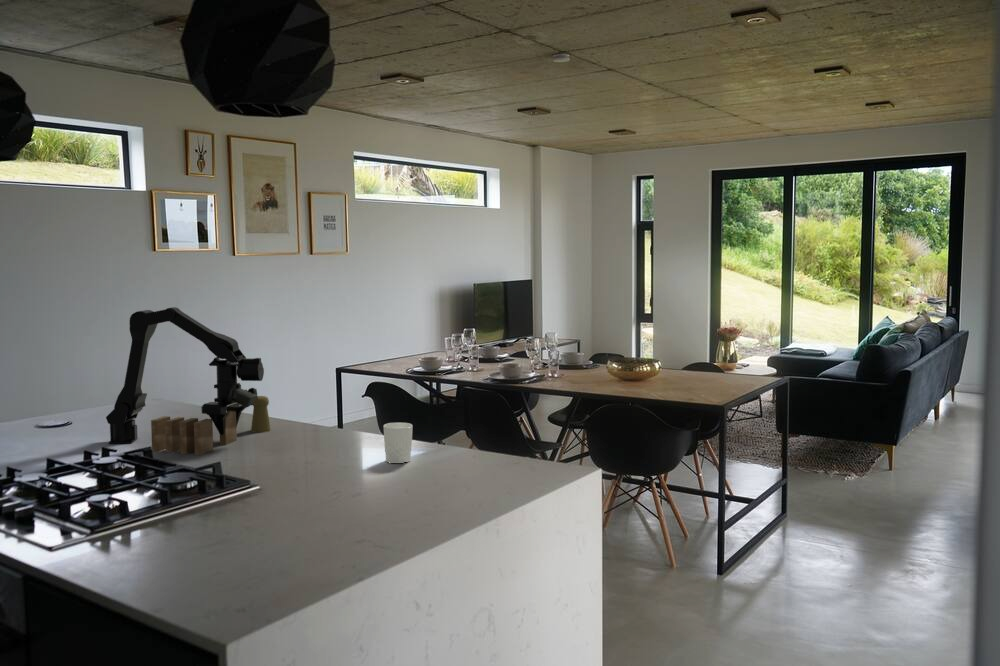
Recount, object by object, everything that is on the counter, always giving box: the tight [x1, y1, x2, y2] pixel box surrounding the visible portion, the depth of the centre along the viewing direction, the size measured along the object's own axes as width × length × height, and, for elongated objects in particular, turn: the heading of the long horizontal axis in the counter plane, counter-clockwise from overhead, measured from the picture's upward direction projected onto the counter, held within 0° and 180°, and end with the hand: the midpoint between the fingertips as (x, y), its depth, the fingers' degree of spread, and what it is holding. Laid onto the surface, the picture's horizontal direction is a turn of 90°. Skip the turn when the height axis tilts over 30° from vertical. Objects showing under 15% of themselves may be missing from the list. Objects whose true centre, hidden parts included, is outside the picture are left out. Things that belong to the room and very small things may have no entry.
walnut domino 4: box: [194, 418, 214, 456], centre depth 226 cm, size 2×6×9 cm, turn 168°
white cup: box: [383, 422, 413, 464], centre depth 219 cm, size 8×8×10 cm
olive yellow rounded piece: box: [250, 395, 271, 433], centre depth 255 cm, size 6×6×11 cm
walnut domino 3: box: [179, 417, 199, 455], centre depth 227 cm, size 2×6×9 cm, turn 168°
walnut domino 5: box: [219, 411, 238, 446], centre depth 238 cm, size 2×6×9 cm, turn 168°
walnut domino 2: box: [165, 416, 185, 454], centre depth 228 cm, size 2×6×9 cm, turn 168°
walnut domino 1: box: [150, 415, 171, 453], centre depth 229 cm, size 2×6×9 cm, turn 168°
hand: (228, 432), depth 238 cm, fingers open, 6 cm apart
